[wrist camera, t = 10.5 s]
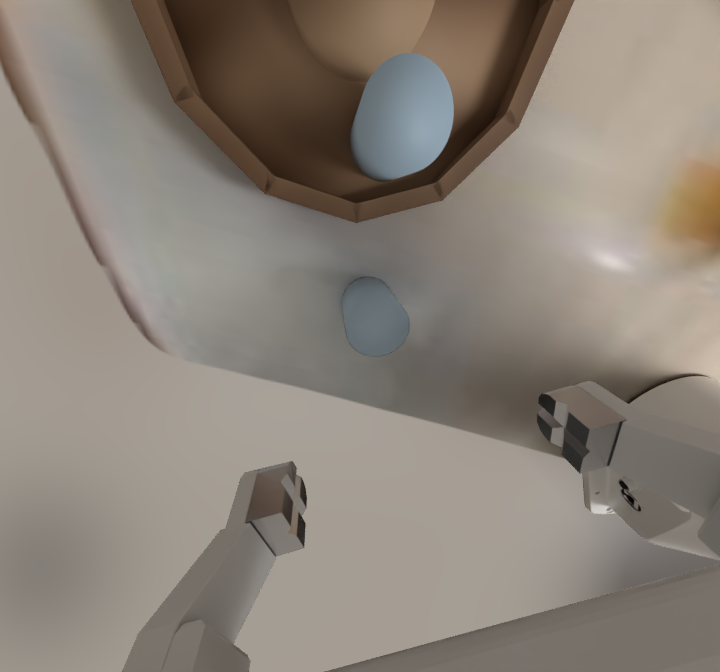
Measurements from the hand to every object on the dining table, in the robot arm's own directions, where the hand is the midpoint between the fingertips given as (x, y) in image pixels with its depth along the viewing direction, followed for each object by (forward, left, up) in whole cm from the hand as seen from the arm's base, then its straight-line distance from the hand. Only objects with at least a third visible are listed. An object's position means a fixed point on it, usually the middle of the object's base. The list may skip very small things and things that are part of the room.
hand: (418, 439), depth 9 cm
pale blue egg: (0, 0, -14) cm, 14 cm away
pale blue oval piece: (+10, -3, -13) cm, 16 cm away
